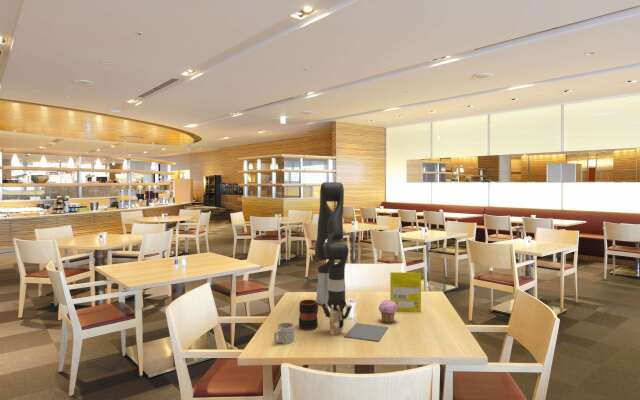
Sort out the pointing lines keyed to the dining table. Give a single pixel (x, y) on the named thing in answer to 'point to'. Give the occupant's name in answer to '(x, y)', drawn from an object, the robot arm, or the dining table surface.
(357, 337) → the mat
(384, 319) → the cupcake
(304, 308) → the mug
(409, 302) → the food package
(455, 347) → the dining table surface
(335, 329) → the wooden block
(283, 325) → the mug
